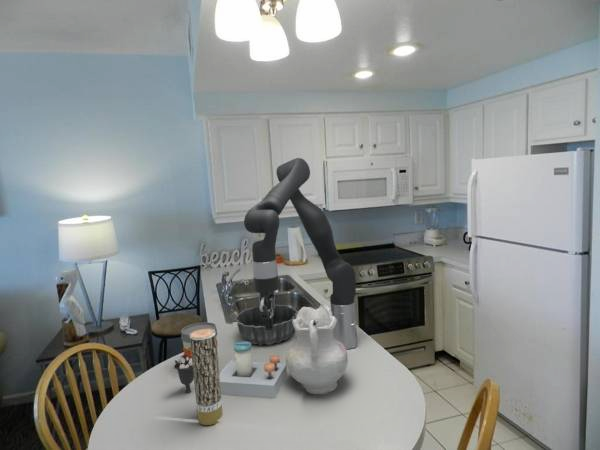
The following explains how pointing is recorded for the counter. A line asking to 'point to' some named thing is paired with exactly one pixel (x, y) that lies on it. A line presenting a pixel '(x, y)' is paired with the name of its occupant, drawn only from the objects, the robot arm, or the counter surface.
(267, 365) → the plunger
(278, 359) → the plunger
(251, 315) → the bundt pan
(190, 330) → the reusable coffee cup
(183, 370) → the sundae
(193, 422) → the counter surface
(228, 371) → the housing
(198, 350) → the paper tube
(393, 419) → the counter surface
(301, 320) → the ceramic pitcher
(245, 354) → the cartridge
